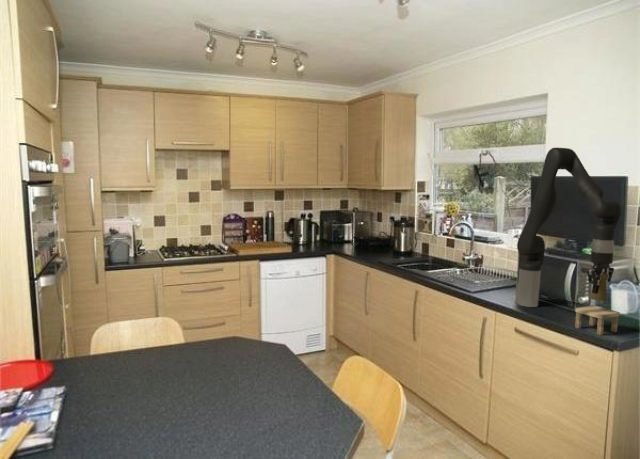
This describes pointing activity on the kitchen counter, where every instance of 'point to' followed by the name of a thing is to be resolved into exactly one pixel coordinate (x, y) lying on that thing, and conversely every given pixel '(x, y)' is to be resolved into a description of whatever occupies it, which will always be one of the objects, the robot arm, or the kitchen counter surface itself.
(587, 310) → the birch stool
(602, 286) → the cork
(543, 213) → the robot arm
